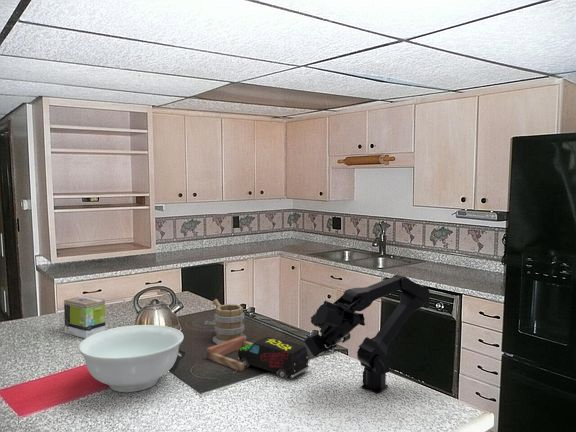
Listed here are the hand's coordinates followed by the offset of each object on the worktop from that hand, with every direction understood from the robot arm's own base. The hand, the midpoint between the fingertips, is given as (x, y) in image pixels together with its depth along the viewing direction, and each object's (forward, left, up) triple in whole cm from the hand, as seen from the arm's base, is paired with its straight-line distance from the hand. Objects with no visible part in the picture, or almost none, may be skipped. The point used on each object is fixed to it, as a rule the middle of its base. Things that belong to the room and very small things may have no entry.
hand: (313, 352), depth 156 cm
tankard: (+54, -11, -10) cm, 56 cm away
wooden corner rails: (+33, 0, -10) cm, 35 cm away
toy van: (+18, 0, -11) cm, 21 cm away
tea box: (+104, +24, -10) cm, 107 cm away
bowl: (+45, +38, -10) cm, 60 cm away
